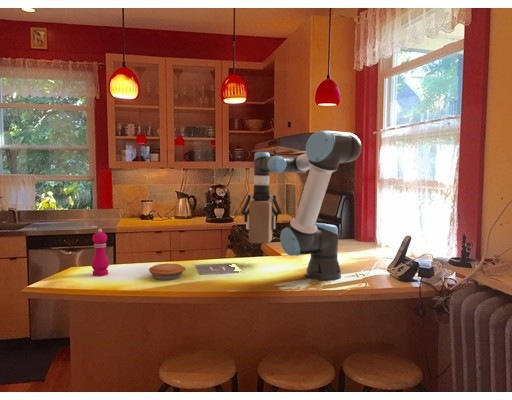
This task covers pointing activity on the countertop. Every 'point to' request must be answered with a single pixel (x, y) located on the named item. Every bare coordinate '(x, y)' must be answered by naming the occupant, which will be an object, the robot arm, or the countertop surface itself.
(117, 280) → the countertop surface
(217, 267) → the board
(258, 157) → the robot arm
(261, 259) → the countertop surface
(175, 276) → the pie
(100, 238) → the pepper mill
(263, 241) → the block
